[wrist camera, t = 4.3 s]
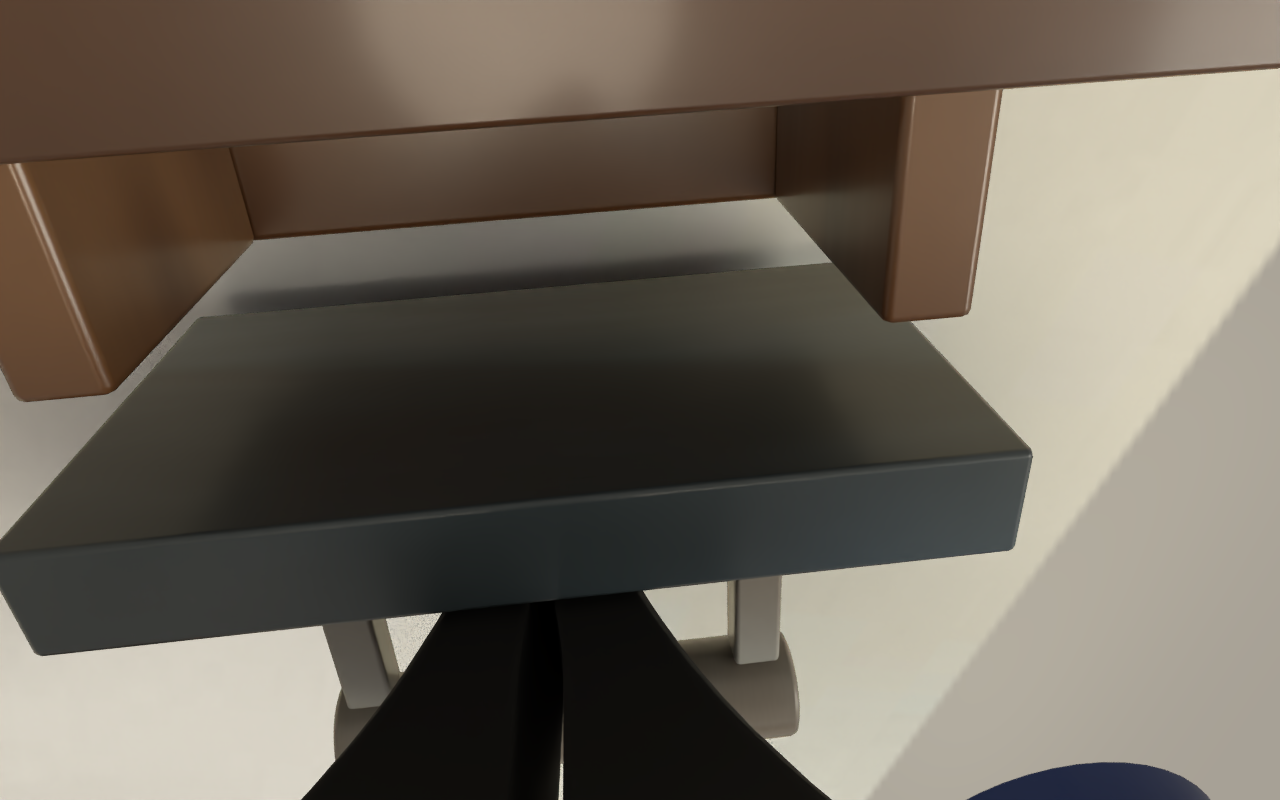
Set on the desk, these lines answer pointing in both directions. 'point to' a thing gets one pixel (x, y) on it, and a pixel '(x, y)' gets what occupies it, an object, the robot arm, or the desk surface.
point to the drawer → (504, 388)
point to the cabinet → (551, 61)
